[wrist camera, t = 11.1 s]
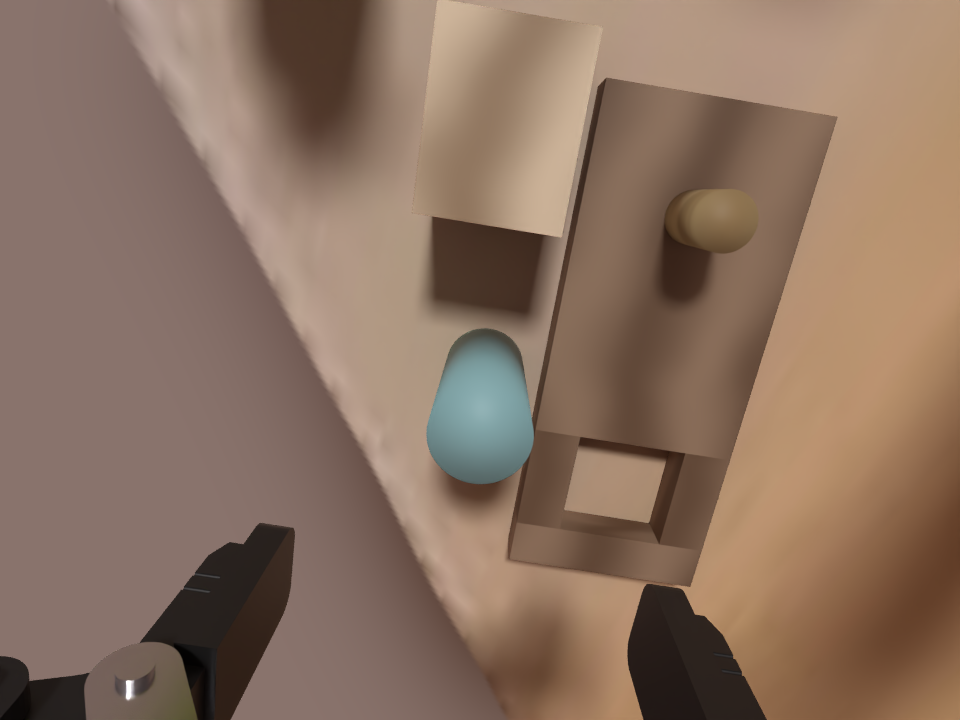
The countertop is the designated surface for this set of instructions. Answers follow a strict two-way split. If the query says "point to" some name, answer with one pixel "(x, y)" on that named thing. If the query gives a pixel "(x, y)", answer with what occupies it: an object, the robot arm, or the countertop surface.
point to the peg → (481, 410)
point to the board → (663, 314)
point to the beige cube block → (503, 117)
